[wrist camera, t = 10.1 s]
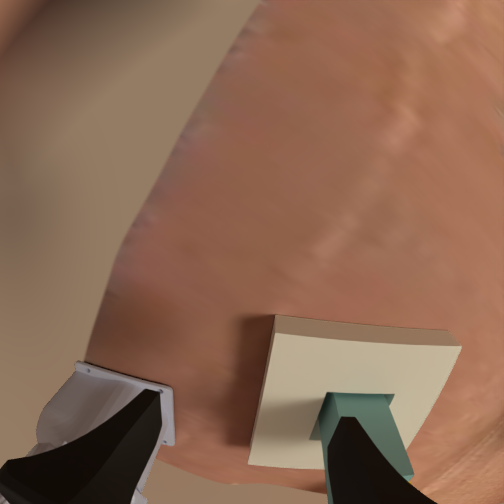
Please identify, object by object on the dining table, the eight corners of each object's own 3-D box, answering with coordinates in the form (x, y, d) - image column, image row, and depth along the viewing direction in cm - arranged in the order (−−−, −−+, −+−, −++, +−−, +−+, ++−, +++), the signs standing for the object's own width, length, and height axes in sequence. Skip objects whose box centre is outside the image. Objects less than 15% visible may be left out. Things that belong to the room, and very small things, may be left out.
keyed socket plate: (249, 444, 25) (247, 464, 22) (275, 314, 21) (275, 332, 18) (389, 448, 24) (394, 465, 22) (448, 330, 20) (462, 346, 18)
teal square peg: (317, 411, 23) (329, 511, 13) (330, 375, 22) (351, 480, 12) (361, 412, 23) (386, 506, 13) (377, 377, 22) (414, 474, 12)
